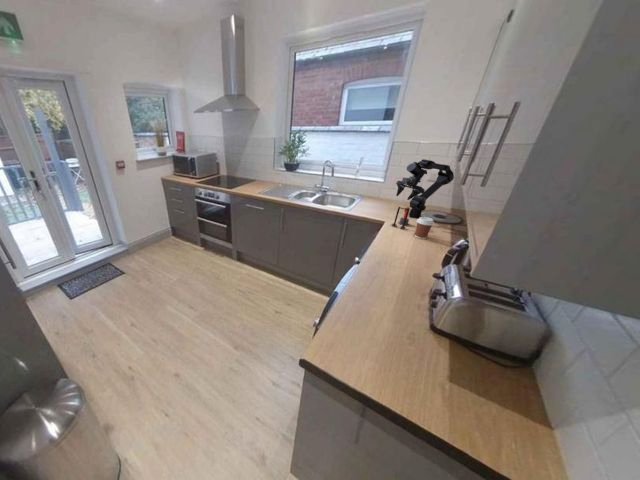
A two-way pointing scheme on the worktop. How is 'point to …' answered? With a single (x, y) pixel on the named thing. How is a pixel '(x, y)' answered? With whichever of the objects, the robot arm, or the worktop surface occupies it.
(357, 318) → the worktop surface
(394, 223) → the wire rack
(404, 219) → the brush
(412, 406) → the worktop surface
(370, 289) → the worktop surface
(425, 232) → the coffee cup
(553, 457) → the worktop surface
